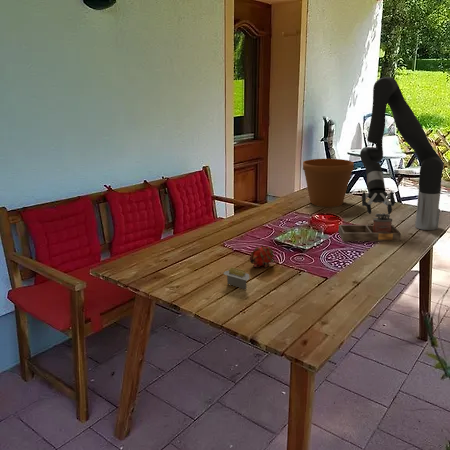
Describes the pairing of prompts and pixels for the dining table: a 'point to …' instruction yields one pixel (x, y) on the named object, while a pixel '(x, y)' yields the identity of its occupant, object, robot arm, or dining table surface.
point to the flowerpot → (327, 180)
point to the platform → (237, 277)
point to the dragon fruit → (262, 256)
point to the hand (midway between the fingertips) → (380, 213)
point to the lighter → (382, 223)
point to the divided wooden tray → (366, 233)
